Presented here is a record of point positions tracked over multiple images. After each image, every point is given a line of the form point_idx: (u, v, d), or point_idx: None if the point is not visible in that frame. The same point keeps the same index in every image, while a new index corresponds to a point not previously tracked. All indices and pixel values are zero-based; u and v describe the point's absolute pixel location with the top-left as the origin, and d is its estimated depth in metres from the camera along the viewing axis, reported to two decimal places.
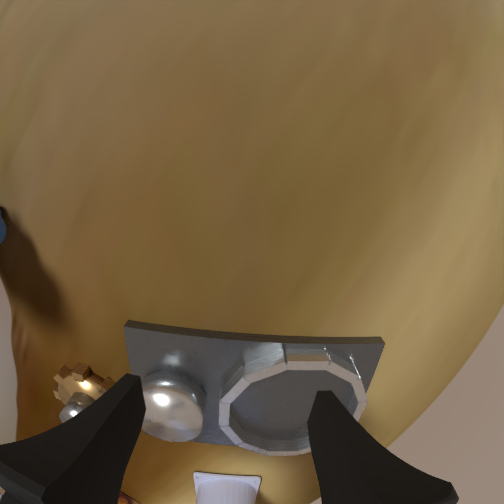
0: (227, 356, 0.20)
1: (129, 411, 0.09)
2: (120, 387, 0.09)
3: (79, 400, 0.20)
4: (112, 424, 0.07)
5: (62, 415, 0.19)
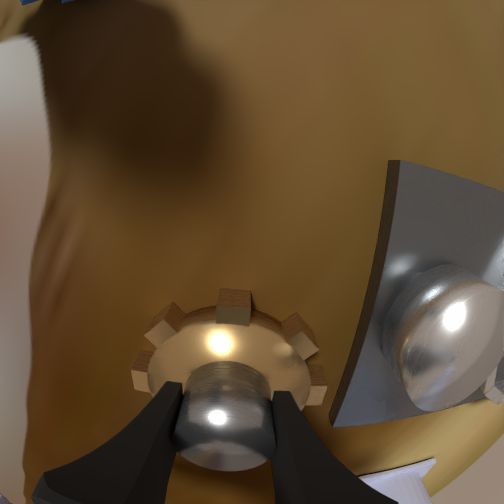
0: None
1: (174, 420, 0.09)
2: (165, 396, 0.09)
3: (231, 379, 0.10)
4: (162, 435, 0.07)
5: (187, 428, 0.08)
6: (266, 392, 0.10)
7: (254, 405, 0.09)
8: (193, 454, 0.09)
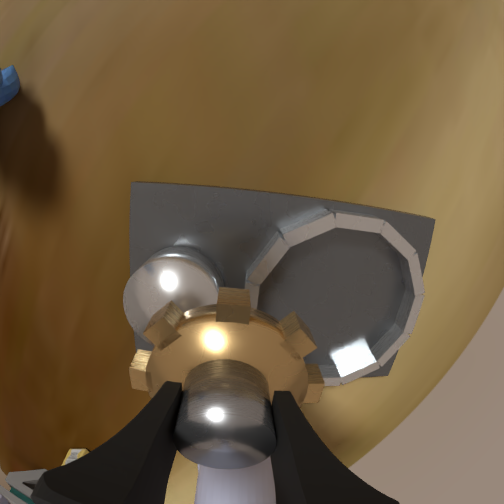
0: (258, 217, 0.17)
1: (173, 420, 0.09)
2: (164, 396, 0.09)
3: (231, 377, 0.10)
4: (161, 435, 0.07)
5: (188, 426, 0.08)
6: (265, 390, 0.10)
7: (255, 403, 0.09)
8: (193, 453, 0.09)
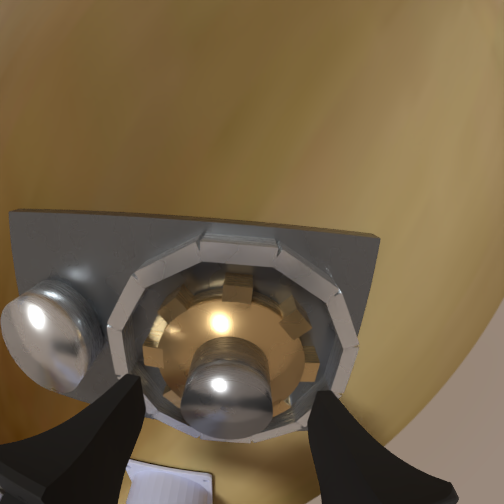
0: (120, 248, 0.13)
1: (129, 411, 0.09)
2: (120, 387, 0.09)
3: (234, 351, 0.11)
4: (112, 424, 0.07)
5: (195, 393, 0.10)
6: (265, 365, 0.12)
7: (254, 373, 0.10)
8: (198, 421, 0.10)
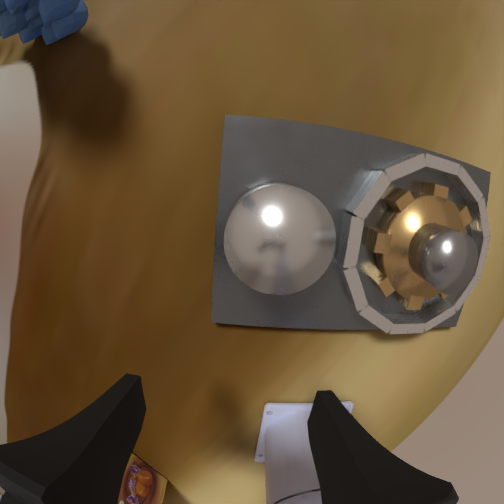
0: (356, 156, 0.16)
1: (129, 411, 0.09)
2: (120, 387, 0.09)
3: (447, 227, 0.15)
4: (112, 424, 0.07)
5: (446, 246, 0.13)
6: None
7: None
8: (441, 275, 0.13)
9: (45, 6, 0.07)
